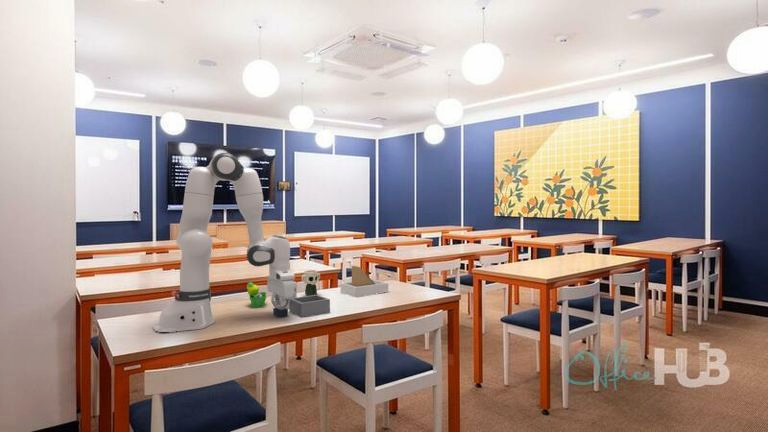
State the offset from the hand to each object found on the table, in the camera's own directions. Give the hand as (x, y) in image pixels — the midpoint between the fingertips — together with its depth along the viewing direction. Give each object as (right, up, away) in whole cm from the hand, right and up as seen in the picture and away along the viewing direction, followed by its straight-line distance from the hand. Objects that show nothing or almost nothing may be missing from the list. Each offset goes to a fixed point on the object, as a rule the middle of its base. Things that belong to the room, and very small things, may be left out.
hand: (279, 304), depth 199 cm
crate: (+12, -5, +7) cm, 14 cm away
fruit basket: (-15, -4, +20) cm, 26 cm away
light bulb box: (-1, -4, +19) cm, 20 cm away
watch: (0, -5, +1) cm, 5 cm away
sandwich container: (+36, -3, +50) cm, 62 cm away
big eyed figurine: (+7, -3, +42) cm, 42 cm away
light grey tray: (+35, -3, +50) cm, 61 cm away
